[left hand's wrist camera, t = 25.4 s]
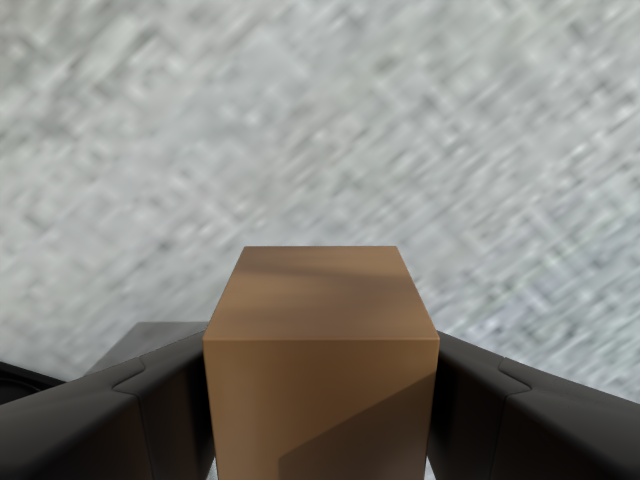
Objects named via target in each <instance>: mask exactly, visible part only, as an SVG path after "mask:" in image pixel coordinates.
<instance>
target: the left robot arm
mask: <svg viewBox="0 0 640 480" xmlns="http://www.w3.org/2000/svg"><path fill="white" fill-rule="evenodd" d="M436 331H437V333H438V335H439V337H440V344H439V353H438V361H437V370H436V379H435V388H434V397H433V405H432V414H431V423H430V432H429V441H428V449H427V457H428V459H429V462H430V465H431V467H432V470H433V473H434V476H435V478H436V480H640V404H638V403H635V402H632V401H629V400H626V399H623V398H620V397H617V396H614V395H611V394H608V393H605V392H602V391H599V390H596V389H593V388H590V387H587V386H584V385H581V384H578V383H576V382H573V381H570V380H567V379H564V378H561V377H558V376H555V375H552V374H549V373H546V372H544V371H541V370H538V369H535V368H532V367H530V366H527V365H525V364H522V363H519V362H517V361H514V360H512V359H509V358H507V357H505V358H504V357H503V356H500V355H498V354H495V353H493V352H490V351H488V350H485V349H483V348H480V347H478V346H475V345H473V344H470V343H468V342H465V341H463V340H460V339H458V338H455V337H453V336H450V335H448V334H445V333H443V332H440V331H438V330H436ZM204 332H205V331H202V332H200V333H197V334H195V335H192V336H190V337H187V338H185V339H182V340H180V341H177V342H175V343H172V344H170V345H167V346H165V347H162V348H160V349H157V350H155V351H152V352H150V353H147V354H145V355H142V356H140V357H139V358H138V357H136V358H133V359H131V360H129V361H126V362H123V363H121V364H118V365H116V366H113V367H110V368H108V369H105V370H102V371H99V372H97V373H94V374H91V375H88V376H85V377H82V378H79V379H76V380H74V381H71V382H64V381H61V380H58V379H55V378H52V377H48V376H45V375H42V374H39V373H36V372H32V371H29V370H26V369H23V368H19V367H16V366H13V365H10V364H7V363H3V362H0V480H206V479H207V476H208V474H209V471H210V468H211V466H212V463H213V460H214V457H215V451H214V442H213V434H212V425H211V417H210V408H209V400H208V391H207V383H206V374H205V366H204V357H203V349H202V340H201V339H202V337H203V335H204Z"/></svg>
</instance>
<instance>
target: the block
mask: <svg viewBox="0 0 640 480" xmlns="http://www.w3.org/2000/svg"><path fill="white" fill-rule="evenodd" d="M201 340H202V349H203V357H204V366H205V374H206V383H207V391H208V400H209V408H210V417H211V425H212V434H213V442H214V451H215V459H216V468H217V476H218V480H424V476H425V467H426V458H427V449H428V441H429V432H430V423H431V414H432V405H433V397H434V388H435V379H436V370H437V361H438V353H439V344H440V337H439V335H438V333H437V331H436V329H435V327H434V325H433V323H432V320H431V318H430V316H429V314H428V312H427V310H426V308H425V306H424V303H423V301H422V299H421V297H420V295H419V293H418V291H417V289H416V287H415V284H414V282H413V280H412V278H411V276H410V274H409V272H408V270H407V267H406V265H405V263H404V261H403V259H402V257H401V255H400V253H399V251H398V248H397V247H396V246H246V247H244V249H243V251H242V253H241V255H240V257H239V259H238V261H237V264H236V266H235V268H234V270H233V272H232V274H231V276H230V279H229V281H228V283H227V285H226V287H225V289H224V292H223V294H222V296H221V298H220V300H219V302H218V304H217V307H216V309H215V311H214V313H213V315H212V317H211V320H210V322H209V324H208V326H207V328H206V330H205V332H204V335H203V337H202V339H201Z"/></svg>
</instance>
